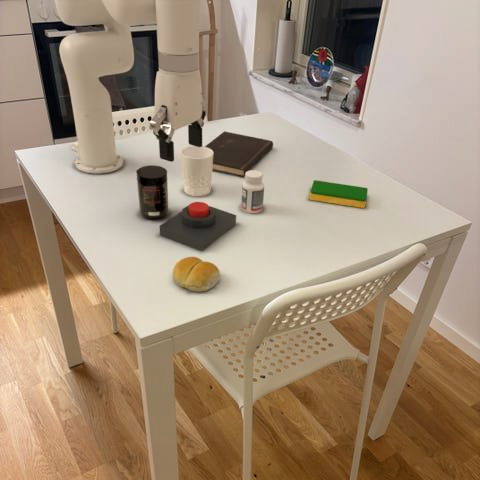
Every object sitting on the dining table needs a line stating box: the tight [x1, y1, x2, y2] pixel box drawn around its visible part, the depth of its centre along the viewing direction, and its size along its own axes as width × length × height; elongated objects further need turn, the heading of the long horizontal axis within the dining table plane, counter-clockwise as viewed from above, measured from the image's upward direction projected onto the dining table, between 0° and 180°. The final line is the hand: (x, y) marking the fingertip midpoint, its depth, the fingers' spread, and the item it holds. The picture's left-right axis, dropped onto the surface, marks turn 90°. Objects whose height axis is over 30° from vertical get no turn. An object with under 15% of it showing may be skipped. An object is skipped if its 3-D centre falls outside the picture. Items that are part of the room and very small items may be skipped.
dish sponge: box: [309, 179, 368, 209], centre depth 130 cm, size 7×14×2 cm, turn 76°
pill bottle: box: [240, 169, 265, 214], centre depth 121 cm, size 5×5×9 cm
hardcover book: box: [204, 131, 274, 178], centre depth 147 cm, size 16×23×2 cm
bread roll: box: [172, 256, 221, 292], centre depth 99 cm, size 8×9×4 cm
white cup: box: [180, 145, 213, 197], centre depth 127 cm, size 8×8×10 cm
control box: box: [159, 205, 237, 252], centre depth 114 cm, size 11×14×4 cm
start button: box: [188, 201, 210, 218], centre depth 112 cm, size 4×4×2 cm
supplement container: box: [135, 165, 170, 221], centre depth 116 cm, size 7×7×10 cm
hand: (181, 152), depth 106 cm, fingers open, 9 cm apart
